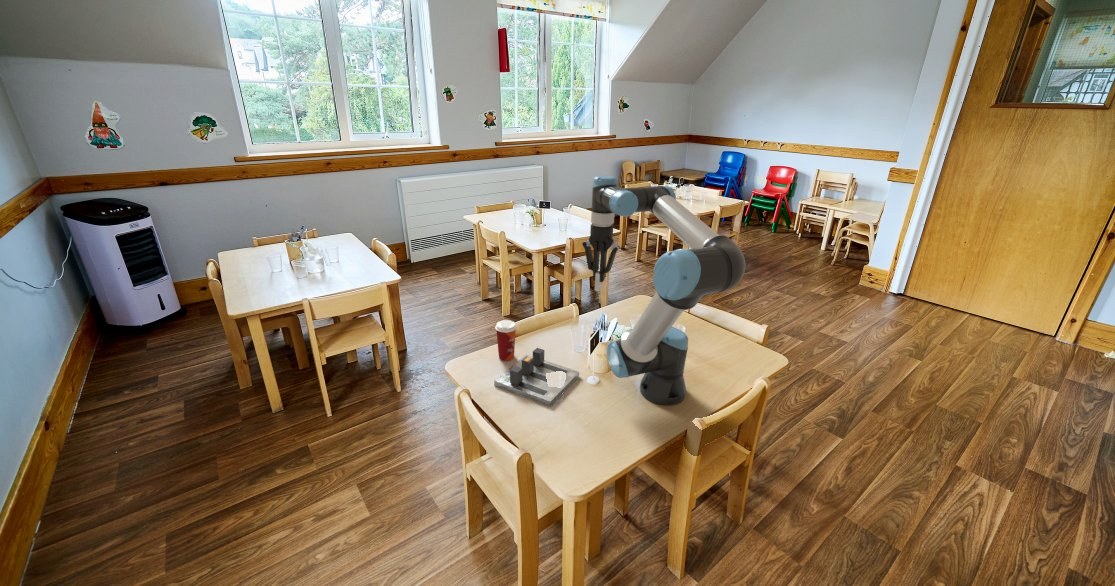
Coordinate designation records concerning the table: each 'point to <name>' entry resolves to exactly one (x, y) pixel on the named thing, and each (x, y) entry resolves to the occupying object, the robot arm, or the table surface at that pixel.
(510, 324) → the paper cup
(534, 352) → the block
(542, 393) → the panel
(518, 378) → the block
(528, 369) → the block
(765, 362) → the table surface
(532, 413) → the table surface
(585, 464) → the table surface
